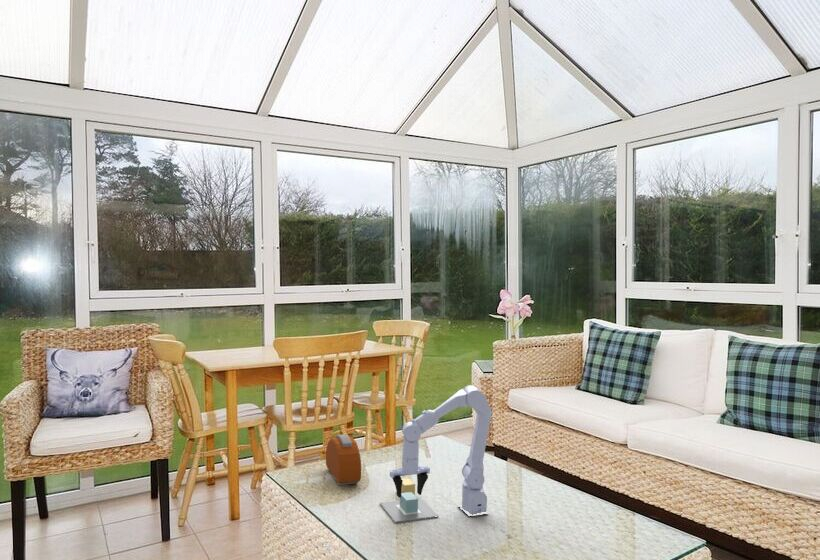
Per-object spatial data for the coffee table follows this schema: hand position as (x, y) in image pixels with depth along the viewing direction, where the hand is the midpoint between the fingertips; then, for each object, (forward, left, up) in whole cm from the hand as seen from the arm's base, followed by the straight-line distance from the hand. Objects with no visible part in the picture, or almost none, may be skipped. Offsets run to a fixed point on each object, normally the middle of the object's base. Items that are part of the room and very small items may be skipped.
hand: (409, 495), depth 201 cm
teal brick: (0, 0, -5) cm, 5 cm away
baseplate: (0, 0, -6) cm, 6 cm away
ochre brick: (+15, -5, -6) cm, 17 cm away
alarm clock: (+38, +14, -6) cm, 41 cm away
